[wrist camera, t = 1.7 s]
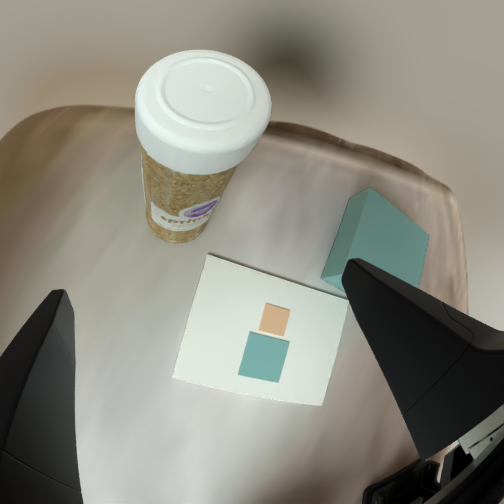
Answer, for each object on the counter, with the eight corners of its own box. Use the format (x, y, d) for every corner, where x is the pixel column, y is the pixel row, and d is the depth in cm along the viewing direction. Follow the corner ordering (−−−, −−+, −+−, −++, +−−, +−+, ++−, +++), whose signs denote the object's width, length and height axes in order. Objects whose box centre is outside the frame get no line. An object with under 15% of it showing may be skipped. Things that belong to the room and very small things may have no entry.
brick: (387, 316, 25) (410, 316, 22) (320, 278, 23) (341, 274, 20) (407, 241, 27) (429, 235, 24) (349, 198, 26) (369, 186, 23)
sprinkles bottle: (172, 257, 20) (191, 178, 8) (133, 208, 20) (108, 78, 7) (221, 218, 22) (302, 109, 9) (183, 172, 21) (219, 31, 9)
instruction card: (320, 405, 21) (322, 406, 21) (171, 377, 19) (172, 378, 18) (347, 300, 24) (349, 300, 23) (207, 254, 21) (207, 254, 21)
